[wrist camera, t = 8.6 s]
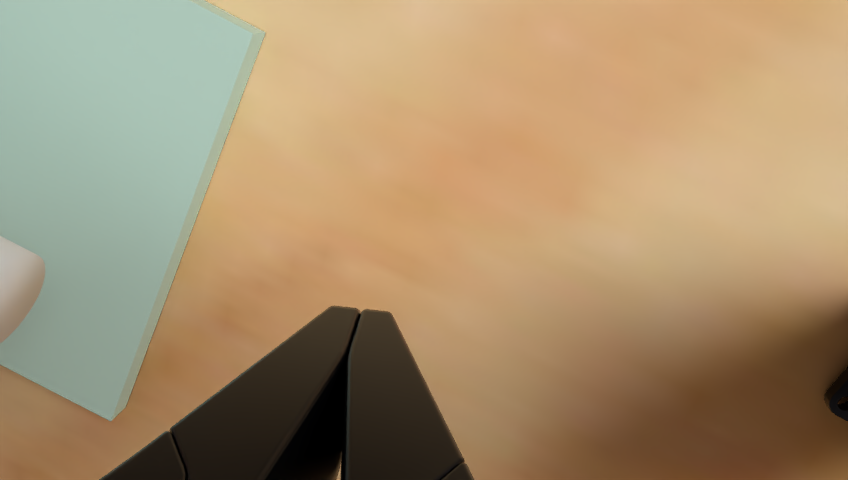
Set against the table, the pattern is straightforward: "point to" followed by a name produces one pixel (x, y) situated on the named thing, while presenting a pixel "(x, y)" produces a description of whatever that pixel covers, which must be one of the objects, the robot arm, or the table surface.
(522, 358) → the table surface
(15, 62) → the pipe rig
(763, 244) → the table surface
